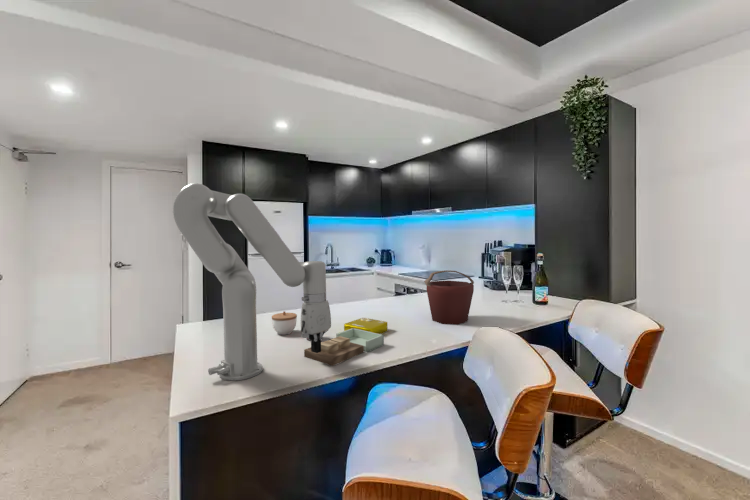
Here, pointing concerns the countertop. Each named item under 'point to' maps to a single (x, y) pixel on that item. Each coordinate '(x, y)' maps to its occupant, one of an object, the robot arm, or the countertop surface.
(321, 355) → the walnut board
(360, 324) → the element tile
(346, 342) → the oak tile
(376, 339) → the tray
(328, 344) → the oak tile
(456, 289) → the bucket
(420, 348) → the countertop surface
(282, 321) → the lidded jar
